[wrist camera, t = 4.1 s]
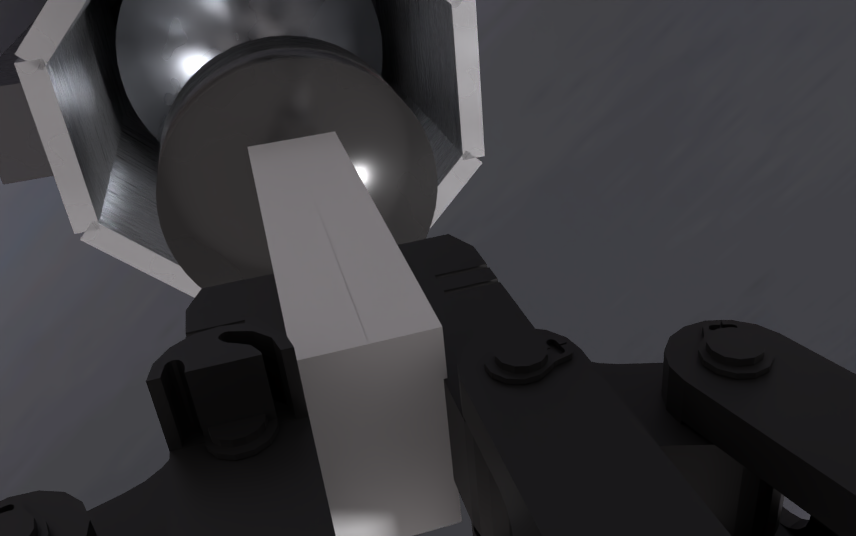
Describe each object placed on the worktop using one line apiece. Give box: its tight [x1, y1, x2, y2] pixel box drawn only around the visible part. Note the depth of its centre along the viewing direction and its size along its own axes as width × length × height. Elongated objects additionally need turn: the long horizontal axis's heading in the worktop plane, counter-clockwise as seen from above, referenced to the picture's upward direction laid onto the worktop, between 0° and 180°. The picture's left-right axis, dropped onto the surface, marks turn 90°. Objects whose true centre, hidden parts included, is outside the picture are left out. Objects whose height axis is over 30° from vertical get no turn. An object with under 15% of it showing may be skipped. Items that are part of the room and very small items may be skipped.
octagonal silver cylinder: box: [0, 0, 485, 298], centre depth 24 cm, size 11×12×14 cm
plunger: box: [116, 0, 438, 288], centre depth 19 cm, size 8×8×12 cm
